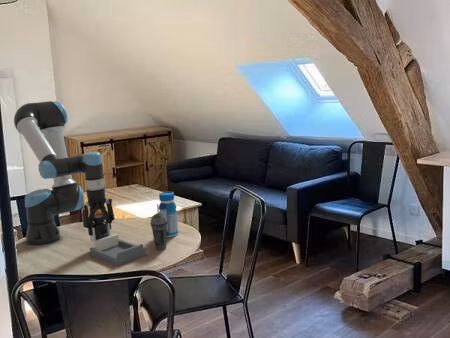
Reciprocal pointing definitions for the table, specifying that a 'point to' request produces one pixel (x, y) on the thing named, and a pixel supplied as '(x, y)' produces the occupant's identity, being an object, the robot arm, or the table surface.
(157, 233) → the beverage cup
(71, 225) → the table surface
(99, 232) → the supplement bottle
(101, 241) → the plate
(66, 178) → the robot arm
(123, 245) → the pusher lane
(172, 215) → the beverage bottle
